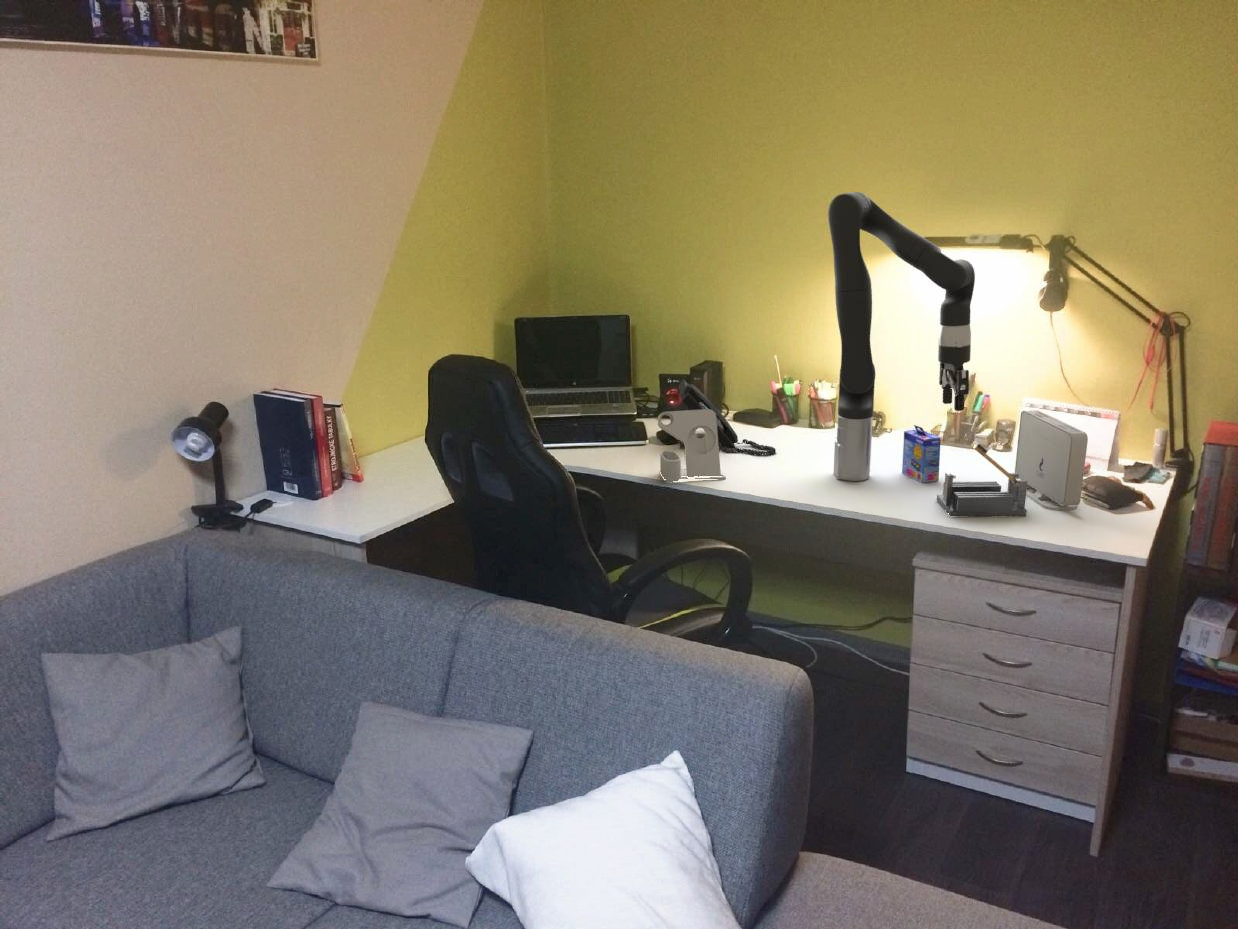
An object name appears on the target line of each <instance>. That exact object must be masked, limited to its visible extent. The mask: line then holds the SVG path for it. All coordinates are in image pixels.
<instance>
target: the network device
mask: <svg viewBox="0 0 1238 929" xmlns="http://www.w3.org/2000/svg"><path fill="white" fill-rule="evenodd" d="M1088 441H1089V438H1088V434H1087V433H1086V431H1083V430H1081V429H1078V428H1077V427H1074V426H1072V425H1070V424H1068V423H1066V422H1064V421H1062V420H1060V419H1057V418H1055V417H1053V416H1051V415H1050V414H1047V413H1045V412H1043V411H1040V410H1038V409H1034V410H1022V411H1021V413H1020V417H1019V429H1018V438H1017V445H1016V446H1017V448H1016V457H1015V467H1014V473H1018V474H1019V477H1018V479H1019V480H1026V481H1028V482H1027V487H1029V488H1033V489H1035V490H1036V491H1035V492H1034V493H1030V492H1028V491H1026V496H1027V497H1026V498H1028V497H1029V498H1028V499H1029V500H1030V501H1032V500H1033V502H1034V503H1036V504H1037V505H1039V506H1040V507H1042V508H1044V509H1047V510H1053V511H1062V510H1075V509H1077V508H1078V506H1079V505H1080V503H1081V498H1082V497H1081V496H1082V489H1083V483H1084V481H1083V480H1084V473H1085V465H1086V459H1087V458H1086V456H1087V450H1088ZM1042 500H1052V501H1054V502H1055V503H1057V504H1059V505H1049V504H1047V503H1045V502H1043V501H1042Z"/></svg>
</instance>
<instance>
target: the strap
mask: <svg viewBox="0 0 1238 929" xmlns="http://www.w3.org/2000/svg"><path fill="white" fill-rule="evenodd" d="M970 446H971V447H972V449H974V450H975V451H976V452H977V453H978V454H980V455H981V456H982V457H983V458H984V459H985V460H987V461H988V462H989V463H991V464H992V465H993V466H994V467H995V468H996V469H998V471H1000V472H1001V473H1002V474H1003V475H1005V477H1007V478H1008V479H1010V480H1011V483H1012V484H1014V485H1015V486H1016V487H1017V481H1018V480H1020V479H1019V478H1017V477H1013V476H1012V475H1010V474H1009V473H1010V472H1008V471H1007V470H1005V468H1004V467H1002V466H1001V465H1000V464H999V463H998V462H996V461H995V460H994V459H993V458H992V457H991V456H989V455H988V454H987V453H988V450H987V449H986V448H985V447H983V445H982V444H980V443H979V442H977V441H976V440H974V441H973V442H971V443H970Z"/></svg>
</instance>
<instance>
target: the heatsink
mask: <svg viewBox="0 0 1238 929" xmlns="http://www.w3.org/2000/svg"><path fill="white" fill-rule="evenodd" d="M1008 473H1009V474H1010V475H1012V476H1013V477H1017V478H1018V477H1019V474H1018V473H1015V472H1008ZM956 477H957V475H956V473H955V472H952V471H951V472H945V474H944V482H943V488H942V489H943V491H942V494H936V500H937V501H936V502H937V503H938V504H939V506H940V505H941V506H940V507H941V508H942V507H943V508H944V509H943V508H942V509H943V510H944V511H945V510H946V511H945V513H946V514H947V513H949V515H950V516H968V517H967V518H976V517H977V518H981V517H983V518H986V517H987V518H991V517H992V516H993V518H995V517H994V516H998V517H997V518H999V516H1007V517H1009V516H1011V517H1027V512H1028V510H1027V509H1026V500H1027V499H1026V498H1027V497H1026V492H1028V490H1027V489H1028V488H1027V482H1028V481H1026V480H1020V479H1019V478H1018V479H1019V480H1018V481H1017V487H1016V486H1015V485H1014V484H1012V483H1011V480H1010V479H1009V478H1008V479H1007V480H1008V481H1007V491H1002V485H1001V484H1000V483H998V482H997V481H954V479H956ZM949 515H948V516H949ZM950 516H949V517H950ZM970 516H972V517H970ZM974 516H975V517H974ZM1007 517H1006V518H1007ZM1009 518H1010V517H1009Z"/></svg>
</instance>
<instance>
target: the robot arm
mask: <svg viewBox="0 0 1238 929" xmlns="http://www.w3.org/2000/svg"><path fill="white" fill-rule="evenodd" d="M827 217H828V218H827V219H828V226H829V232H830V233H829V234H830V238H831V244H832V253H833V254H832V255H833V271H834V272H833V273H834V295H835V297H834V298H835V299H834V300H835V308H836V309H835V311H836V318H837V324H838V328H839V329H838V330H839V335H840V341H841V342H840V343H841V356H840V357H841V359H840V369H839V381H838V382H839V384H838V385H839V386H838V401H837V403H838V405H837V427H836V439H835V440H834V455H833V456H834V457H833V474H834V476H835V477H836V480H843V481H851V482H860V481H866V480H868V479H869V478H870V474H871V459H872V458H871V457H872V454H871V453H872V439H873V421H874V400H875V384H876V368H875V364H874V362H873V356H872V348H871V332H872V330H871V329H872V318H873V317H872V316H873V293H872V292H873V291H872V290H873V288H872V280H871V276H870V273H869V270H868V267H867V264H866V262H865V260H864V256H863V253H862V249H861V231H864V232H867V233H868V234H870V235H872V236H874V237H875V238H877V239H878V240H880V241H881V242H883V243H884V244H885V246H886V247H888V249H889V250H891V252H892V253H893V254H894V255H895V256H897V257H898V258H899V259H900V260H902V261H904V262H905V263H907V264H909V265H910V266H912V267H913V268H915V269H917V270H919V271H920V272H922V273H923V274H924V275H925V277H927V278H928V279H929V280H930V281H932V282H933V283H934V284H935V285H936V286H938V287H940V288H942V289H943V290H945V295H944V296H945V297H944V300H943V302H942V303H941V305H940V309H939V314H940V317H939V331H938V352H937V353H938V355H937V356H938V357H937V360H938V362H939V378H938V379H939V380H938V381H939V382H938V383H939V386H941V389H942V404H944V405H949V404H952V403H953V394H954V407H953V408H954V411H956V412H961V411H964V410H965V396H967V395H969V393H970V385H969V384H970V380H969V379H970V371H969V369H964V364H965V363H966V364H967V363H969V362H970V361H971V353H972V352H971V350H972V348H971V347H972V346H971V344H972V341H971V340H972V331H971V304H972V300H973V295H974V289H975V281H976V274H975V269H974V267H973V265H972V263H971V262H970V261H968V260H966V259H955V260H953V259H951V258H950V257H949V256H947V255H946V254H944V253H942V249H941V248H940V247H938V245H936V244H934V243H933V242H932V241H930V240H928V239H926V238H924V237H923V236H922V235H920V234H919V233H917V232H915V231H913V230H911V229H910V228H908V227H907V226H905V225H903V223H900V222H899V221H898V220H896V219H895V218H894V217H892V216H891V215H890V214H888V213H887V212H886V211H885V210H883V209H882V207H881V206H879V205H878V204H877V203H876V202H875V201H873V200H872V199H871V198H870V197H869V196H867V195H866V194H864V193H863V192H858V191H851V192H845V193H841V194H838V195H836V196H835V197H833V199H832V200H830V203H829V206H828V211H827Z"/></svg>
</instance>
